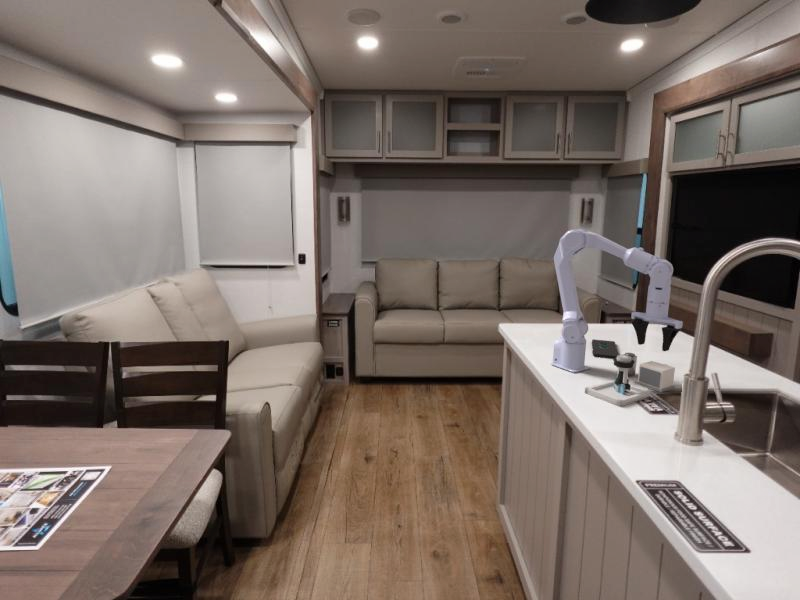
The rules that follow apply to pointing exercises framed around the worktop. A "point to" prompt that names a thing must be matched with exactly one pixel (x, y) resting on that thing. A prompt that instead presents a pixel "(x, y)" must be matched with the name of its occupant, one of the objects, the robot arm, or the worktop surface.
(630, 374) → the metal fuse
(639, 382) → the panel
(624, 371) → the push button
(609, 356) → the smart home device
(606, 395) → the tray
